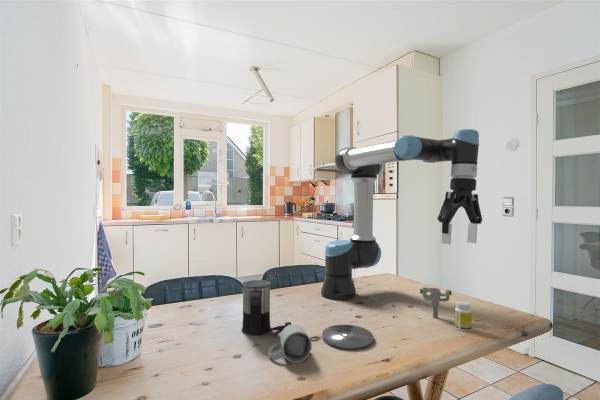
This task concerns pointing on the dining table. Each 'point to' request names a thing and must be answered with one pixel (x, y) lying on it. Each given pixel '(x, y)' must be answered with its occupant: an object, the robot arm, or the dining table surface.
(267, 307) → the milk frother
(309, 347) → the ceramic mug
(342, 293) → the robot arm
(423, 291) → the mechanical component
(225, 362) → the dining table surface
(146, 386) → the dining table surface
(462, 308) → the supplement bottle
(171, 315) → the dining table surface
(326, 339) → the plate
